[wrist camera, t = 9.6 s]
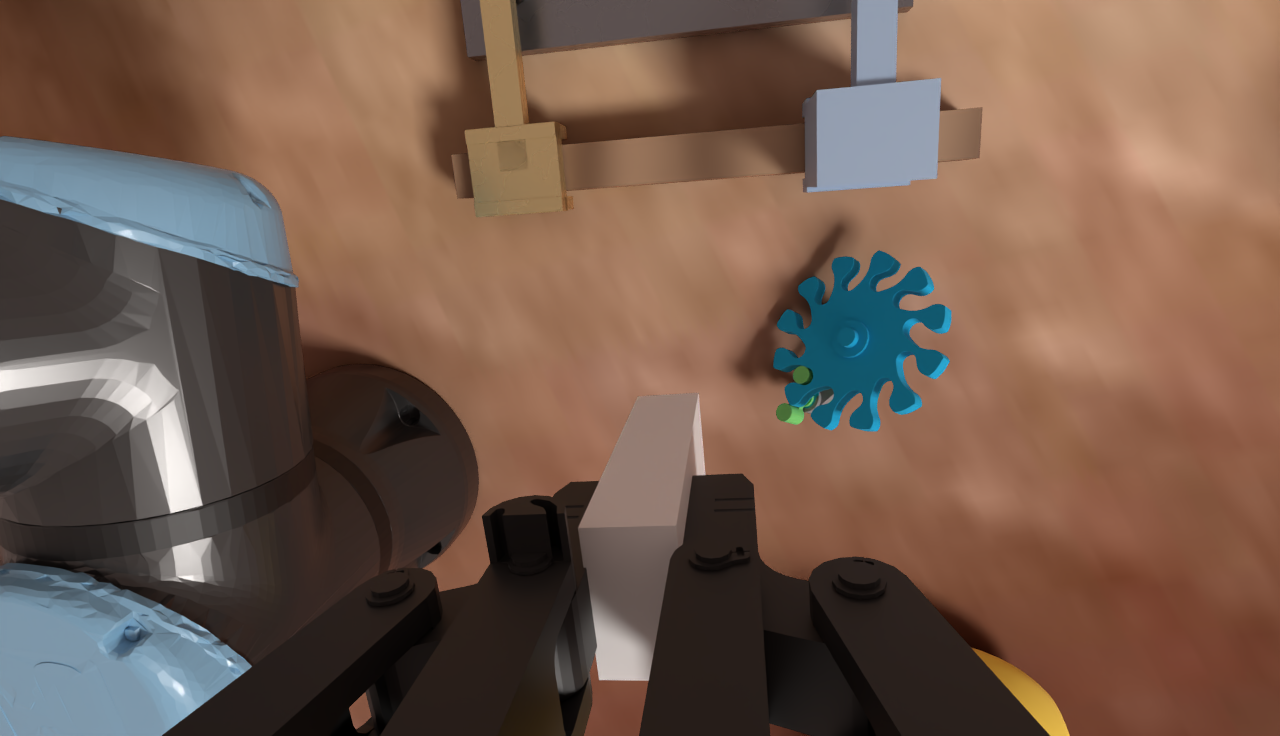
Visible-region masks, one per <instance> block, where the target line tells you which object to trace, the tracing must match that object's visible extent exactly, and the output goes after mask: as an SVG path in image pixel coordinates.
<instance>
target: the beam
mask: <svg viewBox="0 0 1280 736" xmlns="http://www.w3.org/2000/svg"><path fill="white" fill-rule="evenodd" d="M981 123H982V107H981V108H970V109H958V110H947V111H940V118H939V142H938V162H946V161H959V160H968V159H976V158H980V140H981ZM562 153H563V164H564V174H565V184H566V191H572V190H584V189H597V188H610V187H623V186H636V185H649V184H662V183H675V182H688V181H701V180H714V179H727V178H740V177H753V176H765V175H778V174H791V173H804V172H805V123H802V124H790V125H779V126H768V127H757V128H746V129H734V130H723V131H712V132H701V133H690V134H678V135H667V136H656V137H645V138H633V139H622V140H611V141H600V142H589V143H577V144H566V145H562ZM451 156H452V164H453V171H454V178H455V185H456V192H457V199H458V198H474V194H473V186H472V179H471V171H470V164H469V156H468V153H465V154H454V155H451Z"/></svg>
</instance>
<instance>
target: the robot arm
mask: <svg viewBox="0 0 1280 736" xmlns="http://www.w3.org/2000/svg"><path fill="white" fill-rule="evenodd" d="M298 283H299V281H298V277H297V276H296V275H295V274H294V273H293V270H292V265H291V259H290V254H289V248H288V243H287V238H286V232H285V227H284V222H283V216H282V212H281V209H280V206H279V204H278V202H277V200H276V199H275V197H274V196H273V195H272V193H271V192H270V191H269V190H268V189H267V188H266V187H264V186H263V185H262V184H261V183H259V182H258V181H256V180H255V179H253V178H251V177H249V176H246V175H244V174H241V173H238V172H234V171H230V170H226V169H221V168H216V167H211V166H206V165H200V164H194V163H189V162H183V161H177V160H171V159H165V158H159V157H153V156H146V155H140V154H134V153H127V152H120V151H114V150H107V149H100V148H93V147H86V146H79V145H71V144H64V143H57V142H49V141H42V140H34V139H26V138H17V137H9V136H2V137H0V736H584V733H585V729H586V725H587V722H588V718H589V714H590V710H591V707H592V687H591V680H590V673H589V672H590V669H591V666H592V662H593V659H594V655H595V653H596V660H597V667H598V674H599V680H649V682H648V688H647V694H646V699H645V705H644V711H643V716H642V722H641V728H640V734H639V736H770V726H769V723H770V724H774V725H777V726H780V727H784V728H787V729H791V730H794V731H797V732H801V733H804V734H808V735H811V736H1050V735H1049V734H1048V733H1047V731H1046V730H1045V729H1044V728H1043V727H1042V726H1041V725H1040V724H1039V723H1038V721H1037V720H1036V719H1035V718H1034V717H1033V716H1032V715H1031V714H1030V713H1029V711H1028V710H1027V709H1026V708H1025V707H1024V706H1023V705H1022V704H1021V703H1020V701H1019V700H1018V699H1017V698H1016V697H1015V696H1014V695H1013V694H1012V693H1011V691H1010V690H1009V689H1008V688H1007V687H1006V686H1005V685H1004V684H1003V683H1002V681H1001V680H1000V679H999V678H998V677H997V676H996V675H995V674H994V673H993V671H992V670H991V669H990V668H989V667H988V666H987V665H986V664H985V663H984V661H983V660H982V659H981V658H980V657H979V656H978V655H977V654H976V653H975V651H974V650H973V649H972V648H971V647H970V646H969V645H968V644H967V643H966V642H965V640H964V639H963V638H962V637H961V636H960V635H959V634H958V633H957V632H956V630H955V629H954V628H953V627H952V626H951V625H950V624H949V623H948V622H947V620H946V619H945V618H944V617H943V616H942V615H941V614H940V613H939V612H938V610H937V609H936V608H935V607H934V606H933V605H932V604H931V603H930V602H929V600H928V599H927V598H926V597H925V596H924V595H923V594H922V593H921V592H920V590H919V589H918V588H917V587H916V586H915V585H914V584H913V583H912V582H911V580H910V579H909V578H908V577H907V576H906V575H904V574H903V573H902V572H901V571H899V570H898V569H897V568H895V567H894V566H891V565H889V564H886V563H883V562H881V561H878V560H875V559H870V558H864V557H848V558H838V559H834V560H830V561H827V562H824V563H822V564H821V565H820V566H818V567H817V568H815V569H814V570H813V572H812V574H811V576H810V578H809V581H806V580H800V579H796V578H792V577H788V576H785V575H782V574H780V573H778V572H776V571H774V570H772V569H771V568H769V567H768V566H767V565H765V564H764V562H763V561H762V560H761V559H760V556H759V553H758V544H757V529H756V515H755V500H754V486H753V484H752V483H751V482H750V481H749V480H748V479H747V478H746V477H745V476H744V475H743V474H720V475H705V464H704V452H703V440H702V429H701V417H700V405H699V393H686V394H669V395H652V396H638V397H637V399H636V402H635V404H634V406H633V408H632V410H631V413H630V415H629V417H628V419H627V421H626V424H625V426H624V428H623V430H622V432H621V435H620V437H619V439H618V441H617V443H616V446H615V448H614V450H613V452H612V454H611V457H610V459H609V461H608V463H607V465H606V468H605V470H604V472H603V474H602V476H601V479H600V481H587V482H570V483H569V484H568V485H566V486H565V487H563V488H562V489H561V490H559V491H558V492H556V493H555V494H554V496H553V497H550V496H538V495H534V496H525V497H518V498H515V499H512V500H508V501H505V502H502V503H500V504H498V505H496V506H494V507H492V508H490V509H489V510H488V511H487V512H486V513H485V514H484V515H482V519H483V525H484V530H485V536H486V541H487V547H488V553H489V558H490V565H489V566H488V568H487V569H486V571H485V573H484V574H483V576H482V577H481V579H480V580H479V582H478V583H477V584H474V585H470V586H466V587H461V588H456V589H451V590H446V591H441V592H439V589H438V584H437V580H436V577H435V576H434V575H433V573H432V572H431V571H428V570H425V569H422V568H424V567H426V566H427V565H429V564H430V563H432V562H433V561H435V560H436V559H437V558H438V557H440V556H441V555H442V554H443V553H444V552H445V551H446V550H447V549H448V548H449V547H450V546H451V544H452V543H453V542H454V541H455V539H456V538H457V537H458V536H459V535H460V533H461V532H462V531H463V529H464V528H465V526H466V525H467V523H468V521H469V520H470V518H471V515H472V513H473V510H474V507H475V504H476V500H477V495H478V484H479V477H478V466H477V461H476V456H475V452H474V449H473V446H472V443H471V441H470V439H469V436H468V434H467V432H466V430H465V428H464V427H463V425H462V423H461V422H460V420H459V419H458V417H457V416H456V414H455V413H454V412H453V411H452V409H451V408H450V407H449V406H448V405H447V404H446V402H445V401H444V400H443V399H442V398H440V397H439V396H438V395H437V394H436V393H435V392H434V391H432V390H431V389H430V388H428V387H427V386H426V385H424V384H423V383H421V382H420V381H418V380H416V379H414V378H413V377H411V376H409V375H406V374H404V373H402V372H399V371H397V370H394V369H390V368H387V367H383V366H377V365H369V364H353V365H345V366H340V367H336V368H333V369H330V370H327V371H325V372H323V373H320V374H318V375H316V376H314V377H311V378H309V379H307V380H306V377H305V369H304V361H303V353H302V345H301V337H300V328H299V320H298V311H297V301H296V291H295V287H298ZM364 692H366V696H367V700H368V704H369V708H370V712H371V716H372V717H371V718H370V719H369V720H368V721H367V722H366V723H365V724H364V725H362V726H361V727H359V728H358V729H355V728H354V726H353V723H352V719H351V715H350V711H349V707H350V706H351V705H352V704H353V703H354V702H355V701H356V700H357V699H358V698H359V697H360V696H361V695H362V694H363V693H364Z"/></svg>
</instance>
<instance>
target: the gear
mask: <svg viewBox="0 0 1280 736" xmlns="http://www.w3.org/2000/svg"><path fill="white" fill-rule="evenodd" d="M900 265H901V264H900V263H899V262H898V261H897V260H896V259H894V258H893V257H892V256H890V255H889V254H887V253H885V252H882V251H877V252H876V253H875V254H874V255H873V257H872V259H871V263H870V267H869V270H868V272H867V274H866V276H865V277H864V279H863V280H862V281H861V282H860V283H859V284H858V285H857V286H856V287H855V288H854V289H853V290H851V291H848V284H849V282H850V281H851V280H852V279H853V278H854V277H855V276H856V275H857V274H858V272H859V270H860V263H859V262H858V261H857V260H855V259H854V258H852V257H839V258H835V259H834V260H833V263H832V270H833V273H834V288H833V291H832V294H831V297H830V299H829V301H828V302H827V303H825V304H823V305H822V297H823V295H824V292H825V284H824V282H823V281H821V280H820V279H818V278H816V277H815V276H814V277H810V278H808V279H807V280H805V281H804V282H802V283H801V284H800V285H799V286H798V291H799V293H800V295H801V296H803V297H804V298H805V299H806V300H807V302H808V303H809V305H810V308H811V315H812V321H811V324H810V326H809V327H808V328H806V329H804V326H803V319H802V316H801V315H800V314H798V313H796V312H794V311H792V310H789V309H787V310H786V311H785V312H784V313H783V315H782V316H781V318H780V319H779V321H778V323H777V327H778V328H779V329H780V330H782V331H784V332H786V333H789V334H796V335H797V336H799V338H800V339H801V340H802V341H803V343H804V344H805V347H806V349H805V353H804V354H803V355H802V356H801V357H800V358H798V357H797V355H796V354H795V353H794V352H792V351H790V350H788V349H785V348H778V349H777V350H776V352H775V356H774V364H773V367H774V368H775V369H778V370H780V371H783V372H790V371H792V370H794V369H795V370H794V373H793V379H794V381H795V382H796V383H795V382H792V383H789V384H788V385H786V387H785V394H786V398H787V400H788V402H789V404H787V403H783V404H781V405H779V406H778V408H777V410H776V415H777V418H778V419H779V420H780V421H784V422H787V423H791V424H799V423H801V422H802V420H803V418H804V412H806V413H809V414H811V417H812V419H813V420H814V421H815V422H816V423H817V424H818V425H820V426H821V427H823V428H825V429H829V430H833V429H835V428H836V427H837V425H838V424H839V420H840V415H841V412H842V410H843V408H844V407H845V405H846V404H847V403H848V402H849V401H850V400H851V399H852V398H853V397H854V396H855V395H856V394H858V393H861V394H862V396H863V402H862V404H861V406H860V407H859V408H857V409H856V410H855V411H854V412H853V413H852V415H851V417H850V426H851V427H854V428H856V429H860V430H864V431H878V429H879V427H880V418H879V415H878V411H877V401H878V397H879V393H880V391H881V388H882V386H883V385H884V384H885V383H886V382H888V381H892V382H893V385H894V388H893V392H892V394H891V397H890V400H889V404H890V407H891V409H892V410H893V411H894V412H895V413H898V414H901V415H903V414H908V413H911V412H913V411H915V410H917V409H918V408H920V407H922V401H921V398H920V397H919V395H918V394H916V393H915V392H914V391H913V390H912V389H911V388H910V387H909V386H908V384H907V382H906V380H905V377H904V372H903V361H904V360H905V358H906V357H908V356H909V355H915V357H916V362H917V367H918V370H919V371H920V372H921V373H922V374H924V375H926V376H928V377H930V378H932V379H936V378H937V377H939V376H940V375H941V374H942V373H943V371H944V370H945V369H946V367H947V365H948V364H949V362H950V361H949V359H948V358H947V357H946V356H945V355H943V354H942V353H940V352H938V351H936V350H927V349H923V348H920V347H919V346H918V345H917V344H916V343H915V342H914V341H913V340H912V339H911V338H910V335H909V332H910V329H911V327H912V326H913V325H914V324H916V323H919V322H922V323H923V324H924V325H925V326H926V327H927V328H929V329H930V330H932V331H933V332H935V333H939V334H942V333H946V332H948V330H949V328H950V324H951V310H950V309H948V308H947V307H945V306H944V305H941V304H935V305H932V306H930V307H928V308H925V309H922V310H917V311H907V310H902V309H900V307H899V302H900V300H901V299H902V297H904V296H905V295H907V294H913V295H918V296H925V295H928V294H930V293H931V292H932V291H933V290H934V285H933V282H932V280H931V278H930V276H929V275H928V273H927V272H926V271H925V270H924V269H922V268H921V267H916V268H913V269H912V270H910V271H909V272H908V273H907V275H906V276H905V277H904V278H903V279H902V280H901V281H900V282H899V283H898V284H896V285H895V286H893V287H891V288H889V289H886V290H883V291H880V292H877V291H876V286H877V284H878V282H879V281H880V280H882V279H884V278H887V277H890V276H893V275H894V274H896V273H897V272H898V270H899V268H900Z"/></svg>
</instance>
